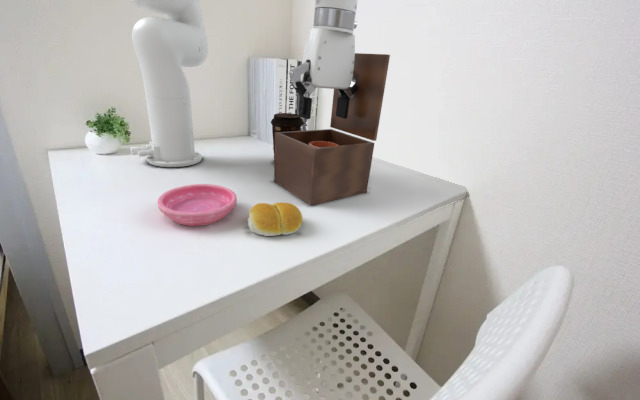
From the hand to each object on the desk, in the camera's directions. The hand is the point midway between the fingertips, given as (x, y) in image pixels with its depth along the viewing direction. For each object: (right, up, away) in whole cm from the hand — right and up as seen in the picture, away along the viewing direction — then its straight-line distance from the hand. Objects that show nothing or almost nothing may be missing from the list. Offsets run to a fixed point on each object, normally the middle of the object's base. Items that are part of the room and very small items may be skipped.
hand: (323, 117), depth 64 cm
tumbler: (-1, -13, +6) cm, 15 cm away
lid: (+7, +5, +2) cm, 9 cm away
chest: (-1, -14, +6) cm, 15 cm away
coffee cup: (-10, -7, +20) cm, 24 cm away
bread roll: (-8, -22, -12) cm, 26 cm away
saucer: (-22, -20, -10) cm, 31 cm away
